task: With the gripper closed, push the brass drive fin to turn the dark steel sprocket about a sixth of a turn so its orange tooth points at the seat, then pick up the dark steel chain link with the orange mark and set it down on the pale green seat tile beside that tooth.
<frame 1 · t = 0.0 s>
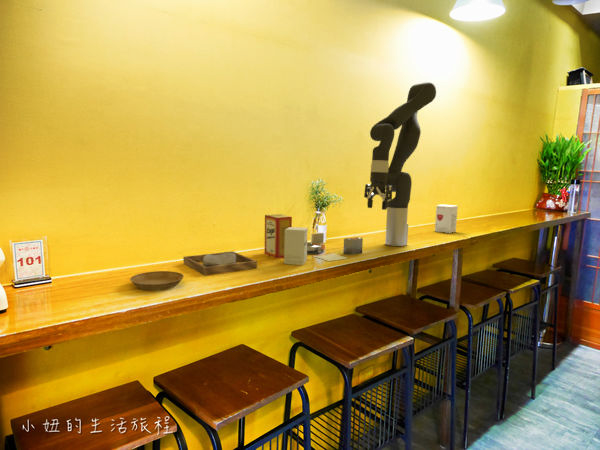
hand: (376, 208, 183), 17 cm above the bar counter, tool pointing down, fingers open, 8 cm apart
supplement box 2: (445, 232, 235), on the bar counter
seat tile: (330, 257, 163), on the bar counter
plant saucer: (157, 286, 122), on the bar counter
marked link: (352, 252, 173), on the bar counter
sprocket base: (308, 251, 174), on the bar counter
wooden tray: (219, 265, 146), on the bar counter
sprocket: (309, 242, 174), point 4 cm above the bar counter, hinge at 0.0°
stone block: (219, 267, 146), resting in wooden tray
baking soda box: (277, 255, 166), on the bar counter
supplement box: (295, 263, 154), on the bar counter
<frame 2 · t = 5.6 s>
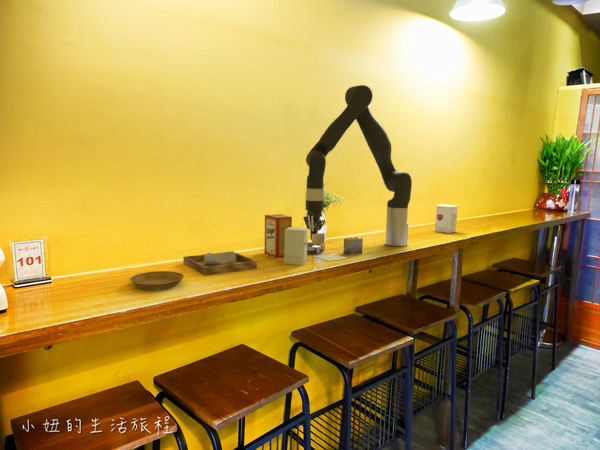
hand: (313, 239, 179), 4 cm above the bar counter, tool pointing down, fingers closed
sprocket: (309, 242, 174), point 4 cm above the bar counter, hinge at 6.0°, touching gripper
stone block: (220, 265, 149), resting in wooden tray
everything else where it was.
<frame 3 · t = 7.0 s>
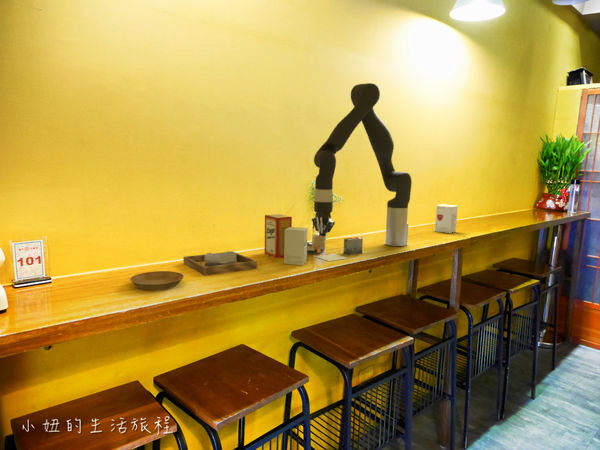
hand: (322, 242, 173), 4 cm above the bar counter, tool pointing down, fingers closed
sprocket: (309, 242, 174), point 4 cm above the bar counter, hinge at 62.8°
everything else where it was.
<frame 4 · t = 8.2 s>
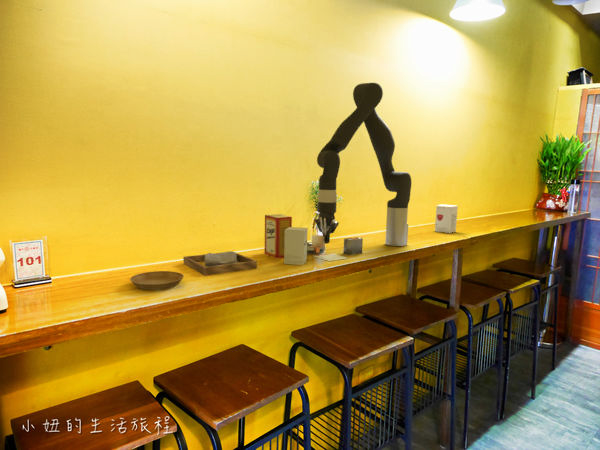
hand: (325, 243, 172), 4 cm above the bar counter, tool pointing down, fingers closed
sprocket: (309, 242, 174), point 4 cm above the bar counter, hinge at 67.5°, touching gripper
everything else where it was.
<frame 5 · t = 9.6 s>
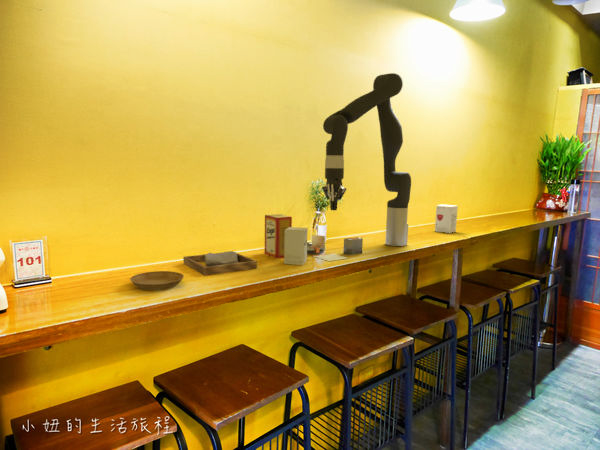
hand: (333, 210, 170), 18 cm above the bar counter, tool pointing down, fingers closed
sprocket: (309, 242, 174), point 4 cm above the bar counter, hinge at 67.5°
everything else where it was.
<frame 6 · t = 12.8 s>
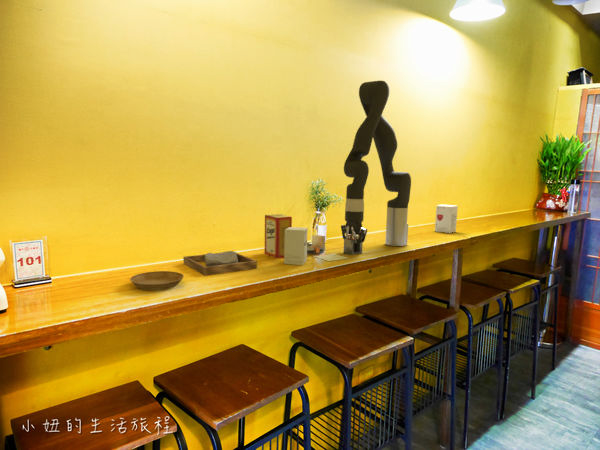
hand: (352, 251, 173), 1 cm above the bar counter, tool pointing down, fingers closed on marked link, 4 cm apart
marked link: (352, 252, 173), on the bar counter, touching gripper
everything else where it was.
when the fingers open (3 cm above the bar counter, at t = 17.9 s): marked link drops 2 cm, resting on seat tile.
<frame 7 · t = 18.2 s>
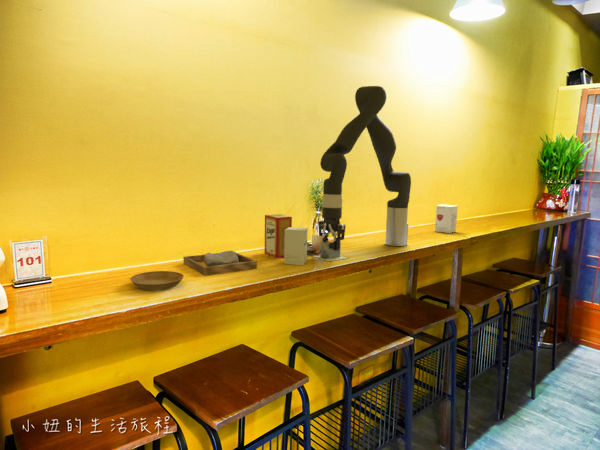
hand: (330, 248, 163), 3 cm above the bar counter, tool pointing down, fingers open, 6 cm apart
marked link: (330, 256, 163), resting on seat tile
everything else where it was.
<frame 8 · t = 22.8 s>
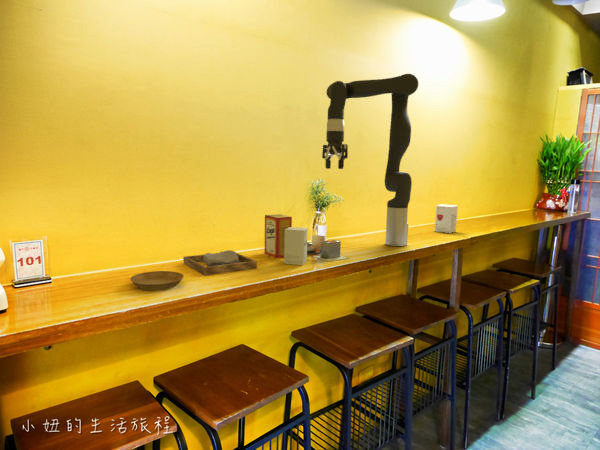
hand: (334, 168, 182), 34 cm above the bar counter, tool pointing down, fingers open, 8 cm apart
at the end: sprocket at +68° (first picture: +0°); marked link inside the target area (0.2 cm from its centre), resting on seat tile; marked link tilted 0° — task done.
